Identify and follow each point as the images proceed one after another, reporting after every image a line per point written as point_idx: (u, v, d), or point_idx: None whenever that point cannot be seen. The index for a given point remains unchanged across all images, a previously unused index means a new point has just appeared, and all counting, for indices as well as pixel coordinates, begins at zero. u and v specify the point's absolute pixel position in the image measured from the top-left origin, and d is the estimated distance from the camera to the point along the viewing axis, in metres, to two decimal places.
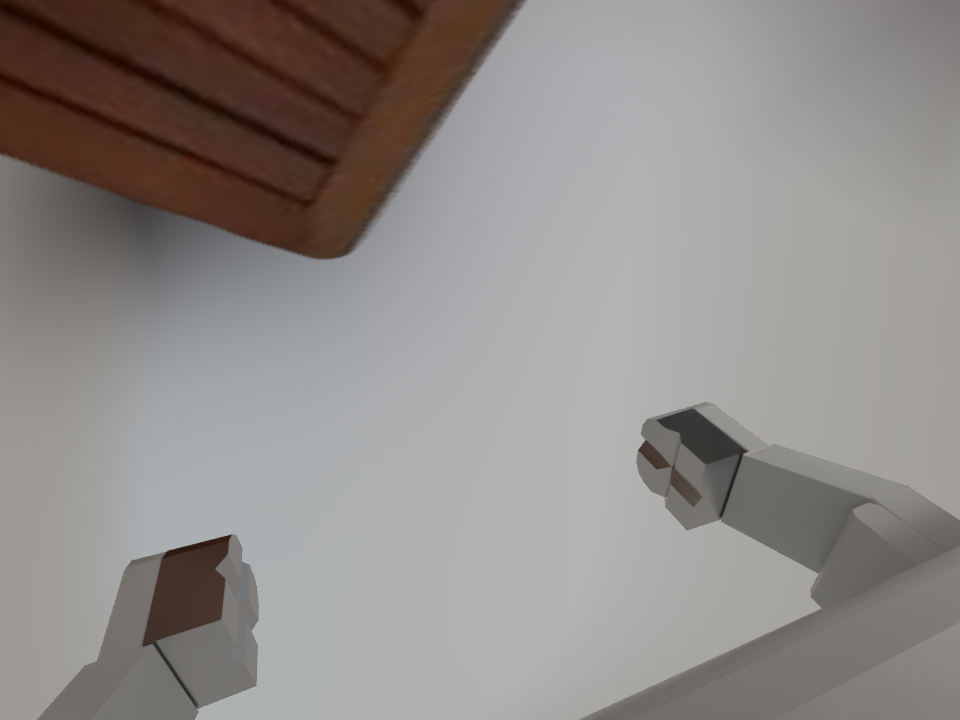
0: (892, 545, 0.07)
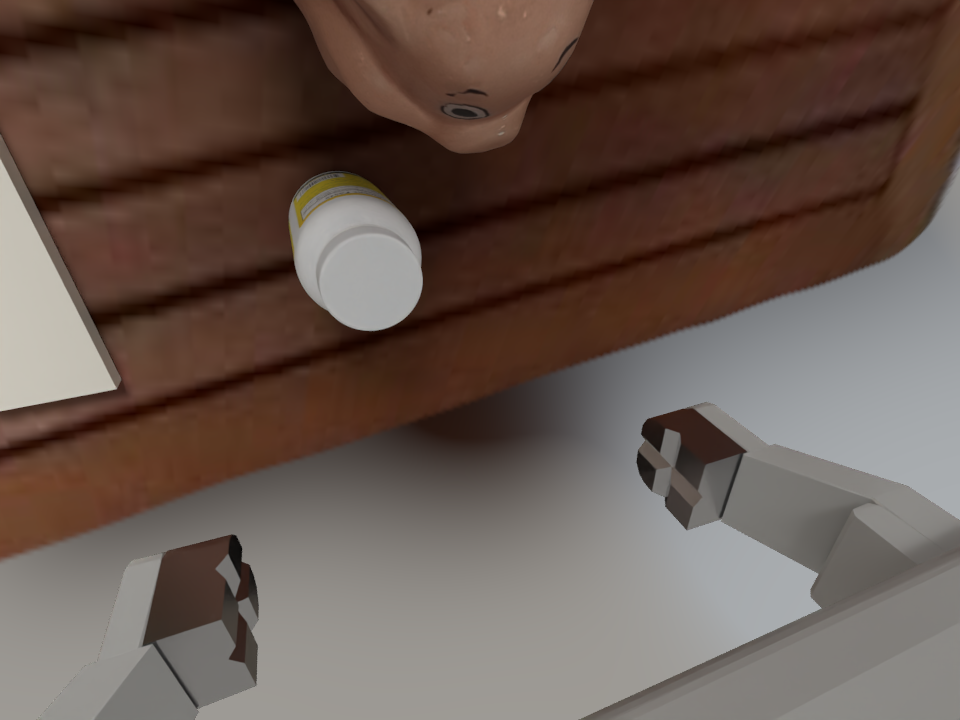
0: (892, 545, 0.07)
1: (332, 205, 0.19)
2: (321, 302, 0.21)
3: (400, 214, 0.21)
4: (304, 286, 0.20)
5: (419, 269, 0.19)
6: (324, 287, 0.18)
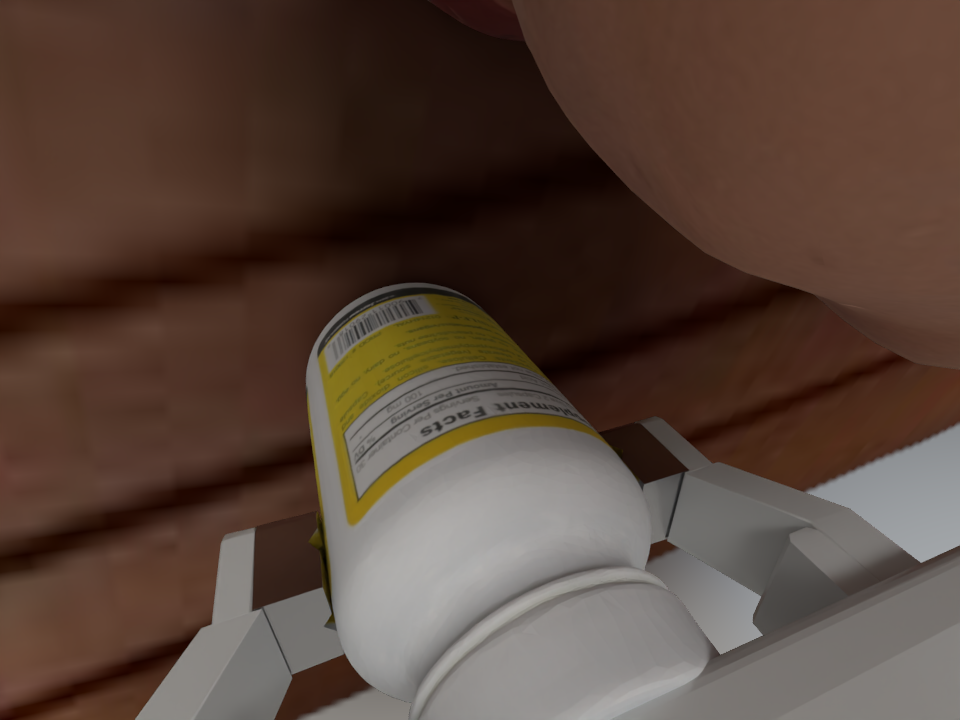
0: (826, 574, 0.07)
1: (457, 491, 0.06)
2: (403, 700, 0.08)
3: (623, 469, 0.07)
4: (359, 673, 0.07)
5: None
6: None
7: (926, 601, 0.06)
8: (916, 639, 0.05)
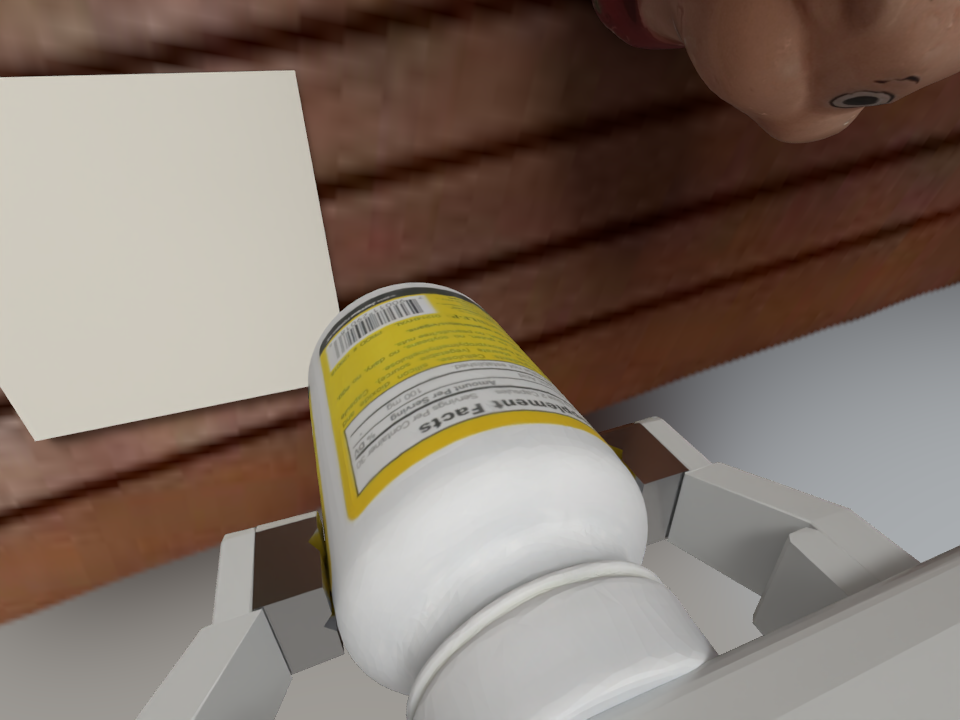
0: (826, 574, 0.07)
1: (454, 486, 0.06)
2: None
3: (620, 466, 0.08)
4: (359, 666, 0.07)
5: None
6: None
7: (926, 601, 0.06)
8: (916, 639, 0.05)
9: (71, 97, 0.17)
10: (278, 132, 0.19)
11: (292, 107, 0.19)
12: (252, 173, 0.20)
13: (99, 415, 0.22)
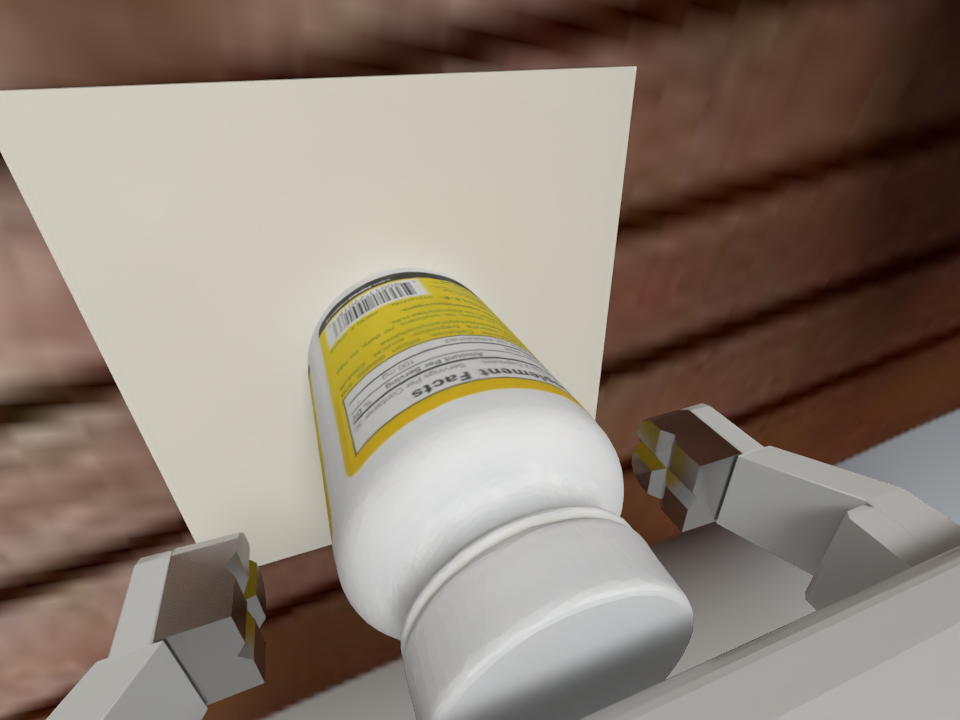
0: (886, 548, 0.07)
1: (443, 441, 0.07)
2: (398, 639, 0.08)
3: (596, 428, 0.08)
4: (358, 612, 0.08)
5: (691, 628, 0.07)
6: None
7: (926, 601, 0.06)
8: (916, 639, 0.05)
9: (348, 111, 0.11)
10: (593, 156, 0.13)
11: (619, 120, 0.13)
12: (549, 214, 0.14)
13: (296, 540, 0.16)
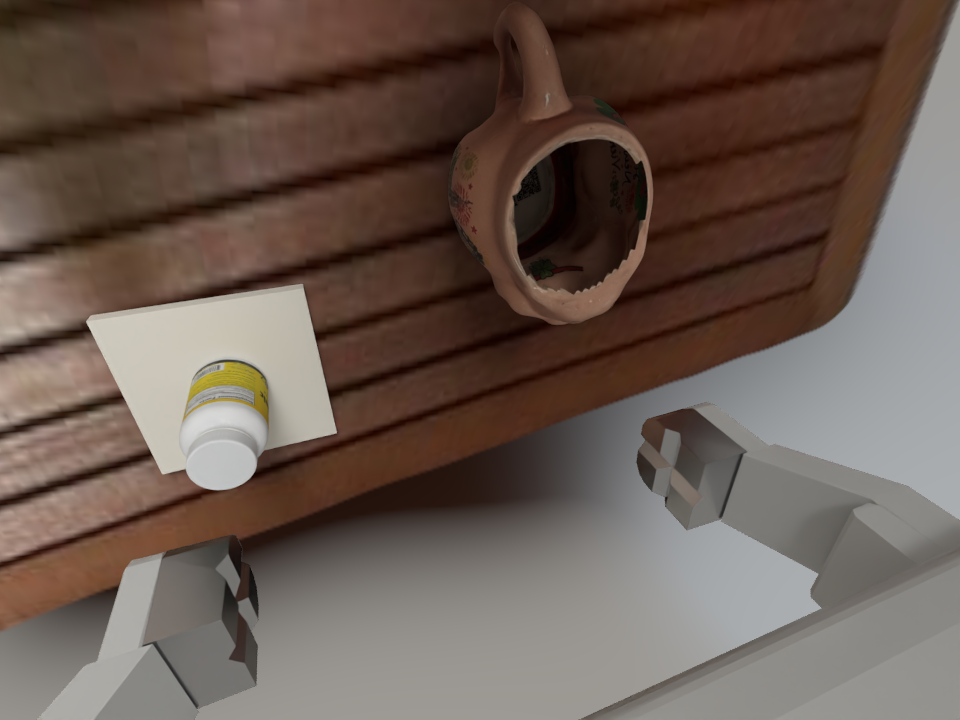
0: (892, 545, 0.07)
1: (200, 413, 0.31)
2: None
3: (247, 411, 0.32)
4: (186, 457, 0.32)
5: (252, 454, 0.31)
6: (189, 471, 0.30)
7: (926, 601, 0.06)
8: (916, 639, 0.05)
9: (196, 313, 0.35)
10: (295, 316, 0.37)
11: (302, 304, 0.37)
12: (281, 335, 0.38)
13: None
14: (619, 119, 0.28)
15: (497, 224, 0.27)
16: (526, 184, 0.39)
